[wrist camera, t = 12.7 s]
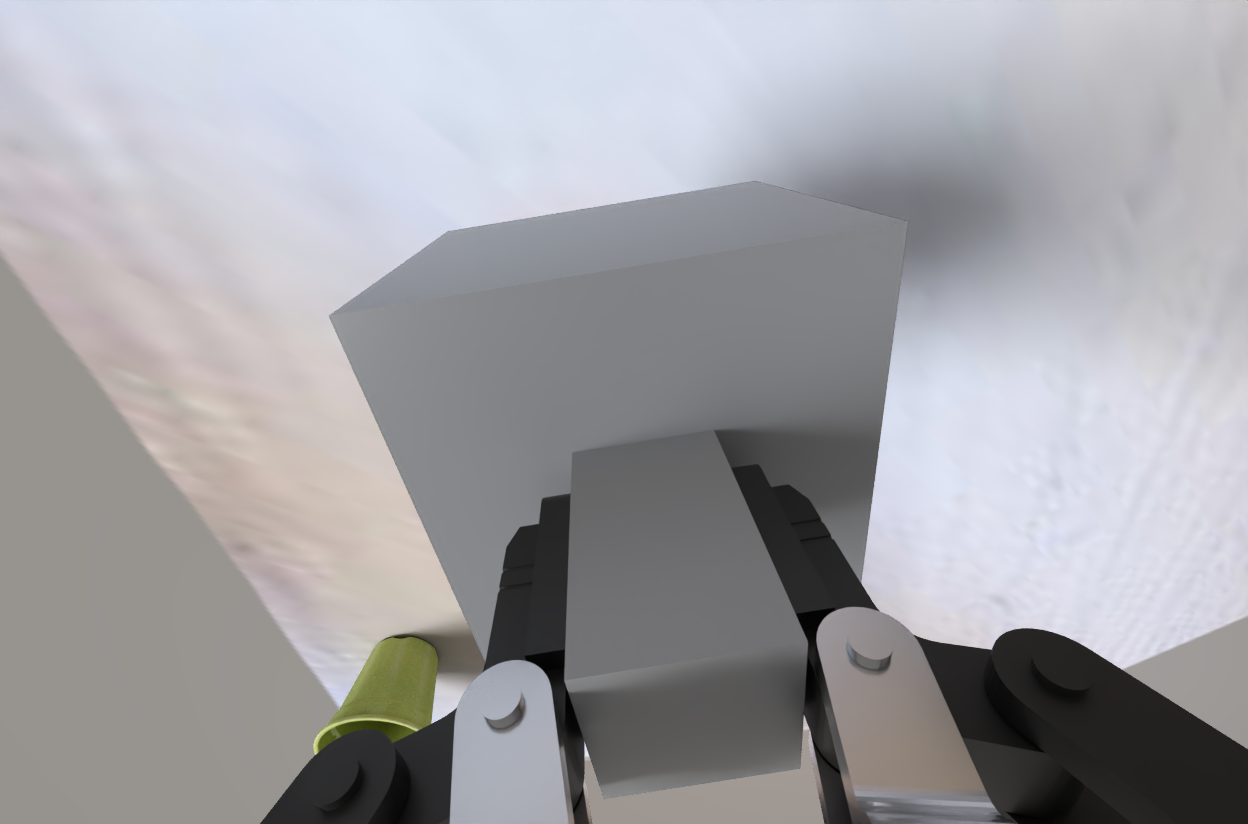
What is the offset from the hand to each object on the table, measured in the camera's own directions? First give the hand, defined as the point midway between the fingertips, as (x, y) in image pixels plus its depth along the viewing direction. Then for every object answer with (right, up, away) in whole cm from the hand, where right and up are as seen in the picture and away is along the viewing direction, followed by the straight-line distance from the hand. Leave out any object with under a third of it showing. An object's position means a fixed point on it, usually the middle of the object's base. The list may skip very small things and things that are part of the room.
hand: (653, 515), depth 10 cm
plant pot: (-22, -21, +38) cm, 49 cm away
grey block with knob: (-1, +4, +8) cm, 10 cm away
